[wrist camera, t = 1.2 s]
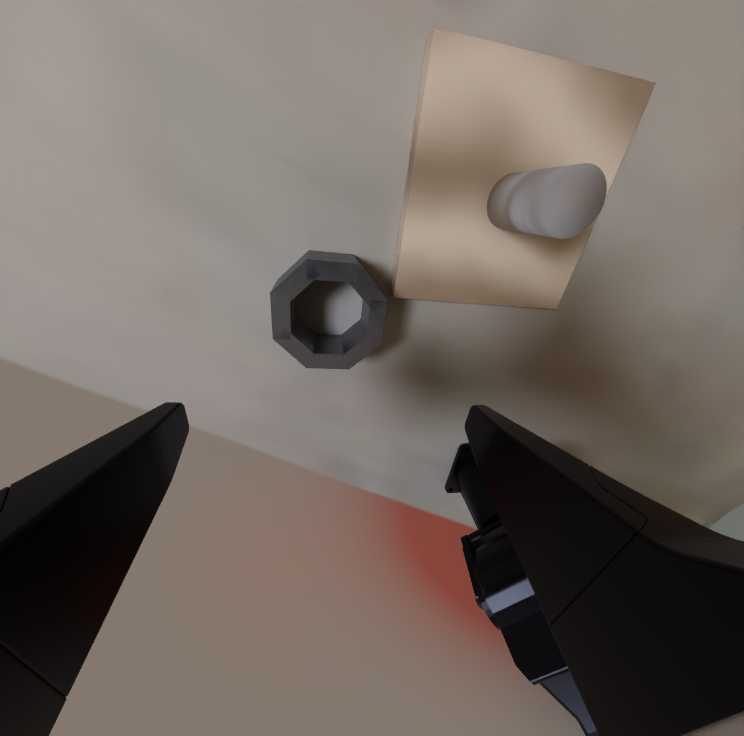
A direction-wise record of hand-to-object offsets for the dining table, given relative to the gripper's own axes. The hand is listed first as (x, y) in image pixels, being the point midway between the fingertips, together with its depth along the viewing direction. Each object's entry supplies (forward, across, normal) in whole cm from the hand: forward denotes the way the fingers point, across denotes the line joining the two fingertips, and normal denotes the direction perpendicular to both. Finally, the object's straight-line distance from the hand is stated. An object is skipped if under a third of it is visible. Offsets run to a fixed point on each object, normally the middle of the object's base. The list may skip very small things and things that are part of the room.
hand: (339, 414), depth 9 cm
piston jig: (+12, -10, -7) cm, 17 cm away
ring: (+12, 0, 0) cm, 12 cm away
